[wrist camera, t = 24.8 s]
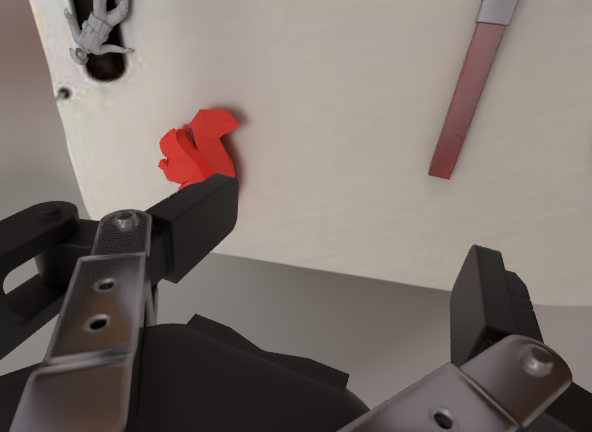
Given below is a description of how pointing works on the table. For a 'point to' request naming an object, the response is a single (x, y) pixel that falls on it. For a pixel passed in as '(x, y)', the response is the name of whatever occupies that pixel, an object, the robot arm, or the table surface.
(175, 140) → the animal figurine
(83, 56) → the soldier figure
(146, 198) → the table surface
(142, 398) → the robot arm
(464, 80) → the paintbrush
